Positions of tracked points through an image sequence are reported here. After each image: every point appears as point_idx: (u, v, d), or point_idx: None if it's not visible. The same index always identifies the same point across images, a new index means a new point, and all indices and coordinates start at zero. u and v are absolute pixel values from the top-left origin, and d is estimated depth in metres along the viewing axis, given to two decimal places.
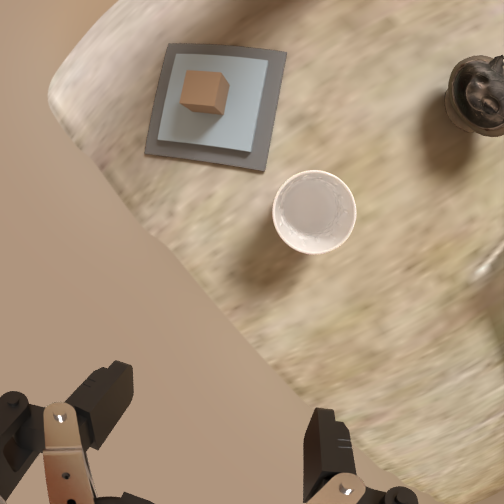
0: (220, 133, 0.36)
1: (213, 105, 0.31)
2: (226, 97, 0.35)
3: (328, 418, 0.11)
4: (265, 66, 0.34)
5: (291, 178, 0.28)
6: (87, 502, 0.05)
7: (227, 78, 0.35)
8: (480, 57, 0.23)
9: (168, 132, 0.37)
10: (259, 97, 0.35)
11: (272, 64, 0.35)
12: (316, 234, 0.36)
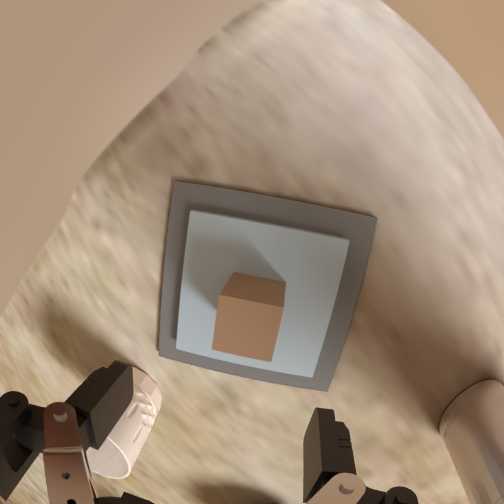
0: (198, 313, 0.25)
1: (213, 348, 0.20)
2: None
3: (328, 418, 0.11)
4: (302, 374, 0.25)
5: (113, 442, 0.20)
6: (86, 502, 0.05)
7: (287, 326, 0.25)
8: None
9: (200, 230, 0.24)
10: (253, 366, 0.26)
11: None
12: None
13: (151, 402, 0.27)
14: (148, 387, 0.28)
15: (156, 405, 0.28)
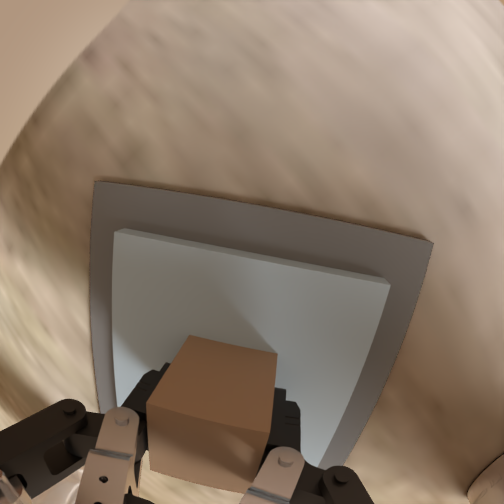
0: None
1: (152, 468, 0.10)
2: None
3: (279, 396, 0.12)
4: None
5: None
6: None
7: None
8: None
9: (132, 265, 0.13)
10: None
11: None
12: None
13: None
14: None
15: None
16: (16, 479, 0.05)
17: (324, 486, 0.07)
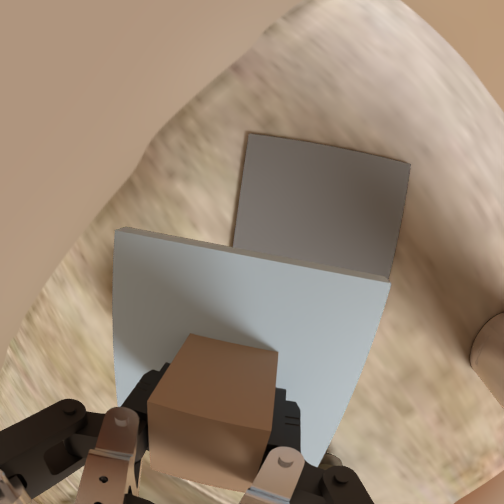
0: None
1: (153, 467, 0.10)
2: None
3: (279, 396, 0.12)
4: None
5: None
6: None
7: None
8: None
9: (132, 263, 0.13)
10: None
11: None
12: None
13: None
14: None
15: None
16: (16, 479, 0.05)
17: (324, 486, 0.07)
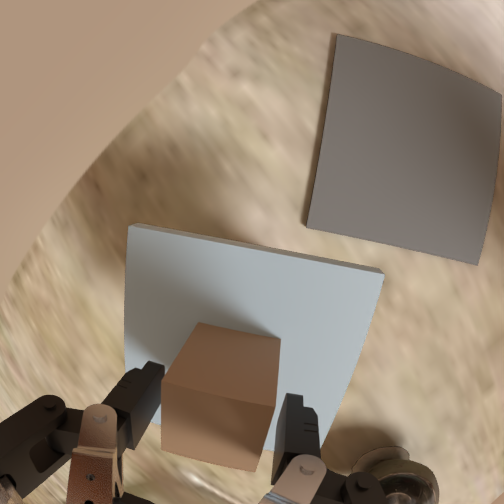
0: None
1: (163, 448, 0.11)
2: None
3: (297, 402, 0.12)
4: None
5: None
6: None
7: (282, 398, 0.15)
8: (437, 503, 0.19)
9: (145, 257, 0.14)
10: None
11: (464, 244, 0.22)
12: None
13: None
14: None
15: None
16: (6, 479, 0.05)
17: (346, 491, 0.07)
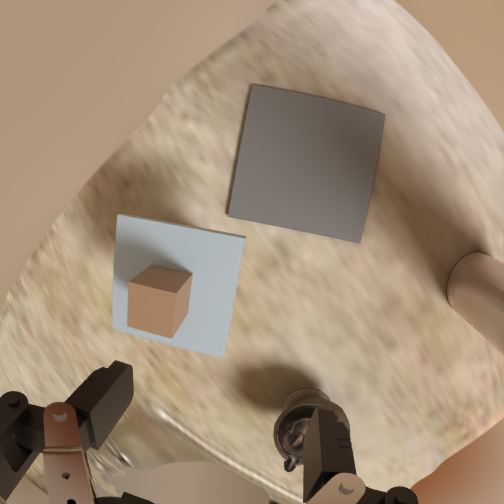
0: (127, 298, 0.29)
1: (128, 325, 0.24)
2: None
3: (328, 418, 0.11)
4: (215, 354, 0.30)
5: None
6: (86, 502, 0.05)
7: (197, 311, 0.29)
8: None
9: (125, 230, 0.28)
10: (173, 345, 0.30)
11: (346, 227, 0.36)
12: None
13: None
14: None
15: None
16: None
17: None
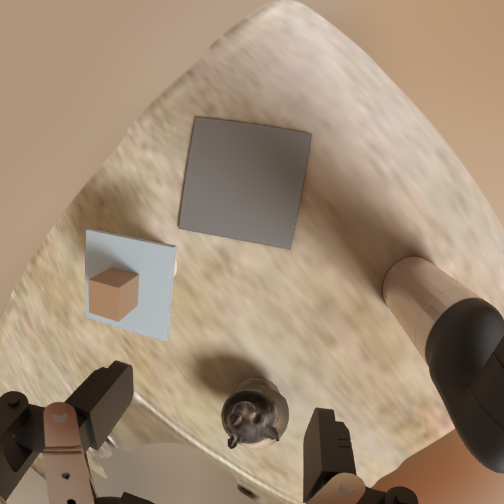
0: None
1: (89, 311, 0.32)
2: None
3: (328, 418, 0.11)
4: (159, 338, 0.37)
5: None
6: (86, 502, 0.05)
7: (144, 303, 0.36)
8: (280, 420, 0.40)
9: (92, 241, 0.35)
10: (129, 330, 0.38)
11: (277, 236, 0.43)
12: None
13: None
14: None
15: None
16: None
17: None
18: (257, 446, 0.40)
